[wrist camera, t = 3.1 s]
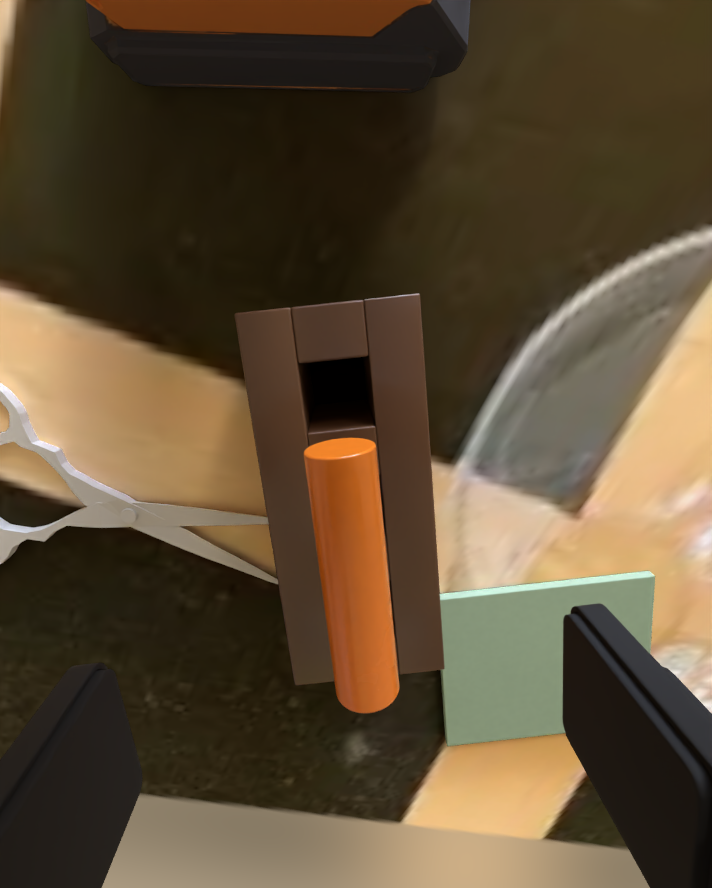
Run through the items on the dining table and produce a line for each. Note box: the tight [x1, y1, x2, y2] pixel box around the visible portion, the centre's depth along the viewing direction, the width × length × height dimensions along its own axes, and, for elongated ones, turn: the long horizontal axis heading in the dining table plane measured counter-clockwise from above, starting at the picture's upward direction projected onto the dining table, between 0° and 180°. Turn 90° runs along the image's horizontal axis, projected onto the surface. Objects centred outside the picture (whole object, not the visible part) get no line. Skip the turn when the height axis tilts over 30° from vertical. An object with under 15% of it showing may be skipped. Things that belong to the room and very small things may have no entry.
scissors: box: [0, 383, 278, 584], centre depth 25 cm, size 11×1×20 cm
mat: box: [440, 571, 655, 746], centre depth 28 cm, size 12×10×1 cm
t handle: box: [304, 438, 399, 713], centre depth 19 cm, size 2×8×12 cm, turn 6°
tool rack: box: [235, 294, 445, 685], centre depth 22 cm, size 7×16×6 cm, turn 6°
